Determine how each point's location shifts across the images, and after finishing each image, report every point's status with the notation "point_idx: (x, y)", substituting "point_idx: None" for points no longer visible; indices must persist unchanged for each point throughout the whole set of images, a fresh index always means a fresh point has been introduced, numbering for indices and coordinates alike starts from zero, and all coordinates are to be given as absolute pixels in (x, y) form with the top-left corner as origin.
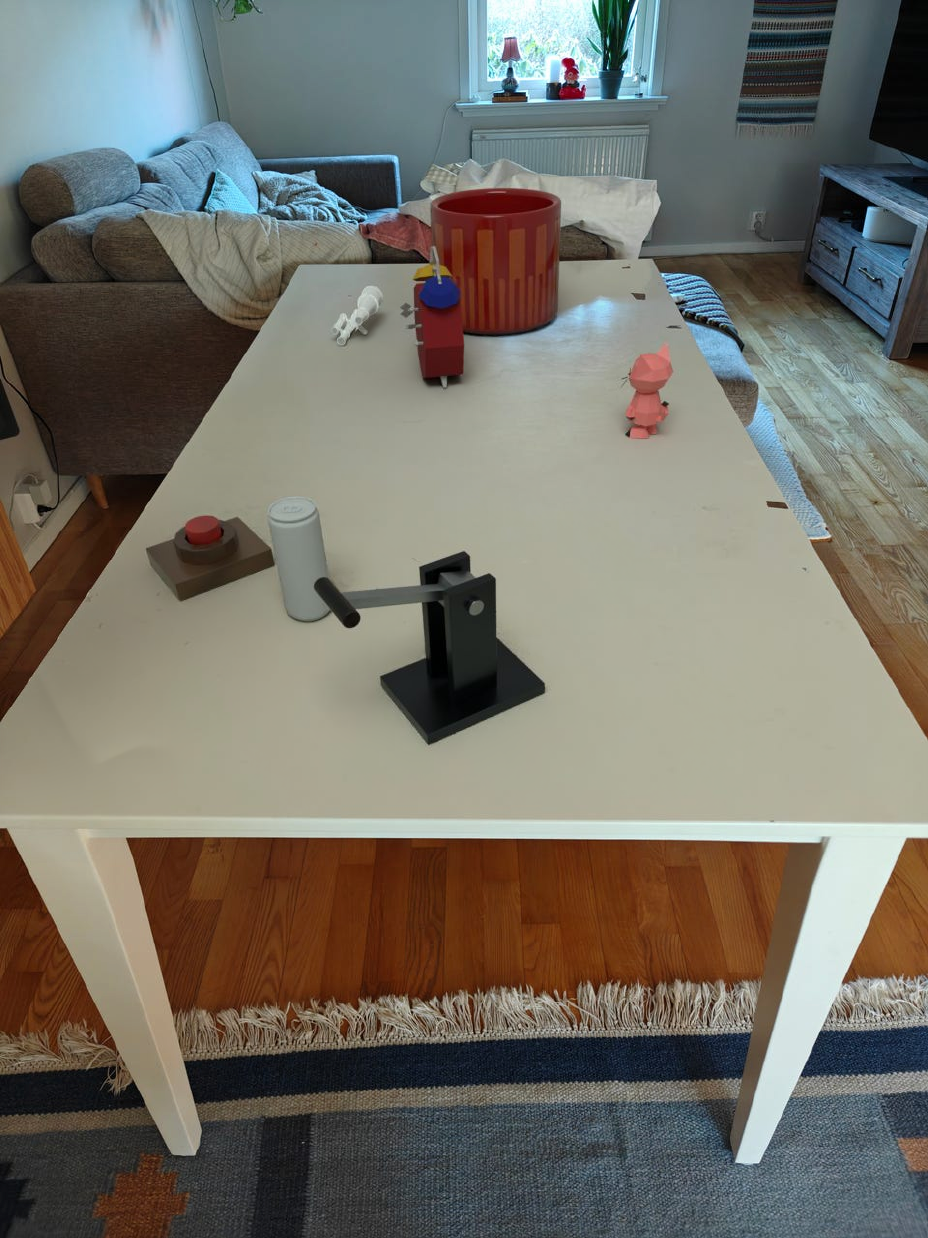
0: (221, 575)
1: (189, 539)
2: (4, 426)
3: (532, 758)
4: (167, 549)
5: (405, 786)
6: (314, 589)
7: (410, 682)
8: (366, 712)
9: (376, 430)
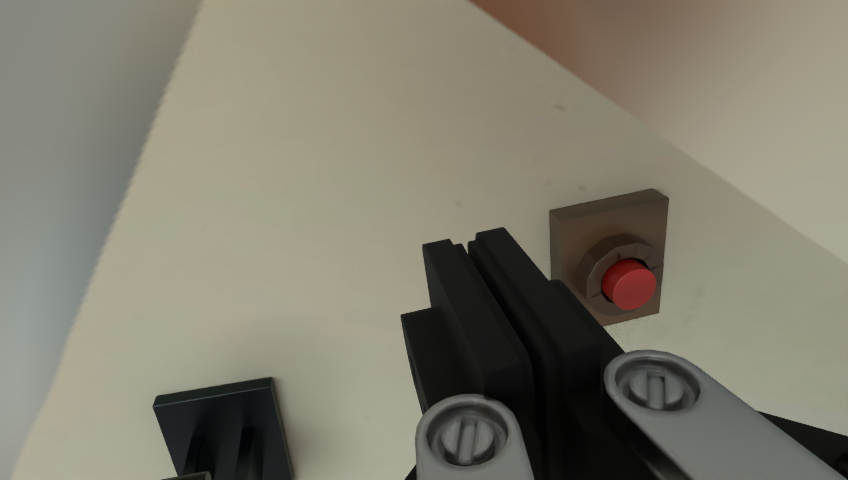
0: (556, 270)
1: (624, 263)
2: (412, 375)
3: (102, 467)
4: (645, 223)
5: (101, 364)
6: (202, 475)
7: (245, 409)
8: (234, 355)
9: None
